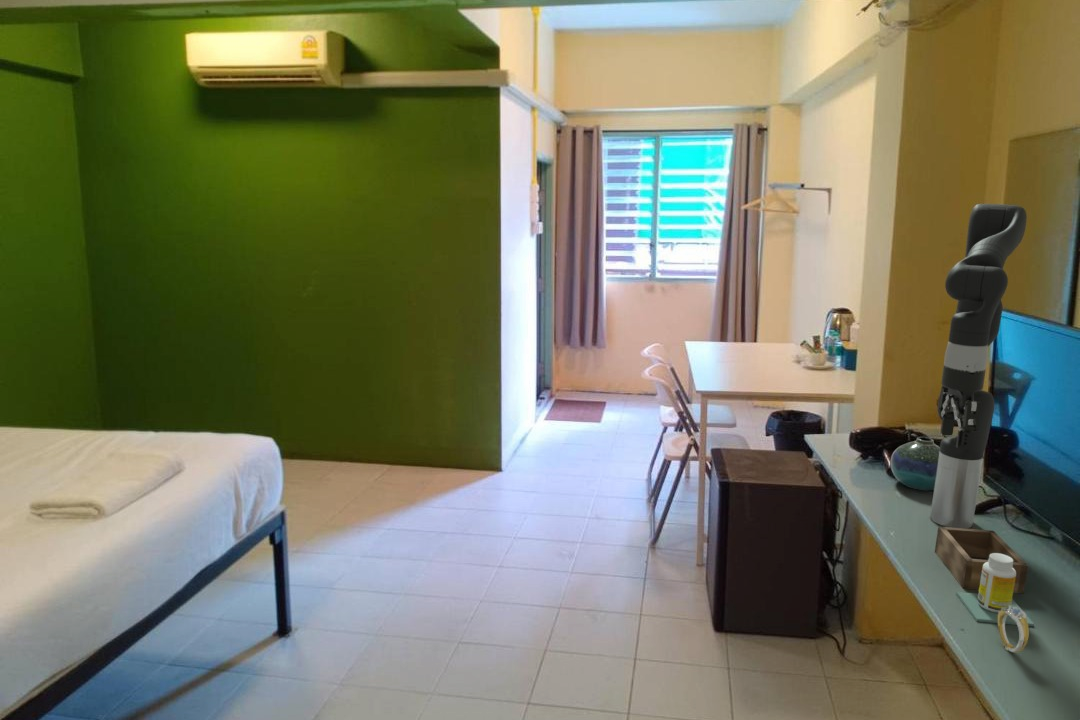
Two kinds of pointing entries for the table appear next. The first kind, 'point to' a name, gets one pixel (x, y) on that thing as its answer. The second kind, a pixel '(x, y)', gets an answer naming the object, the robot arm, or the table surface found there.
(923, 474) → the vase
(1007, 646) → the ring
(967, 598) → the mat
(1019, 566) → the box
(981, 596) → the supplement bottle
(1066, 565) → the table surface
